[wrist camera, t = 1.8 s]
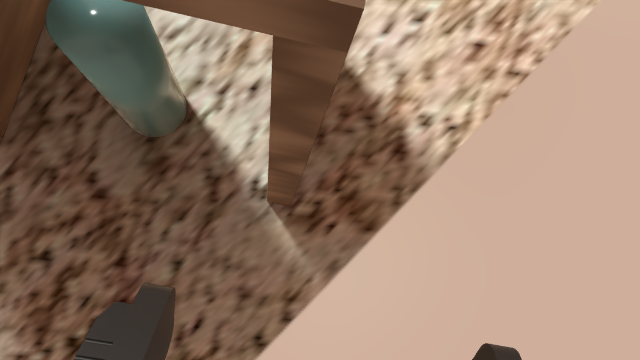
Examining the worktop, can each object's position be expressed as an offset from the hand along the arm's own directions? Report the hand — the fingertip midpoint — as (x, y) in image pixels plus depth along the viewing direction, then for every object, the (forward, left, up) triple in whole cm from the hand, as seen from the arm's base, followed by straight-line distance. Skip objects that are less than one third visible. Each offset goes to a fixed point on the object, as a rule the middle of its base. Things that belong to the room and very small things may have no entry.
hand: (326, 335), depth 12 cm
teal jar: (-14, +13, -26) cm, 32 cm away
